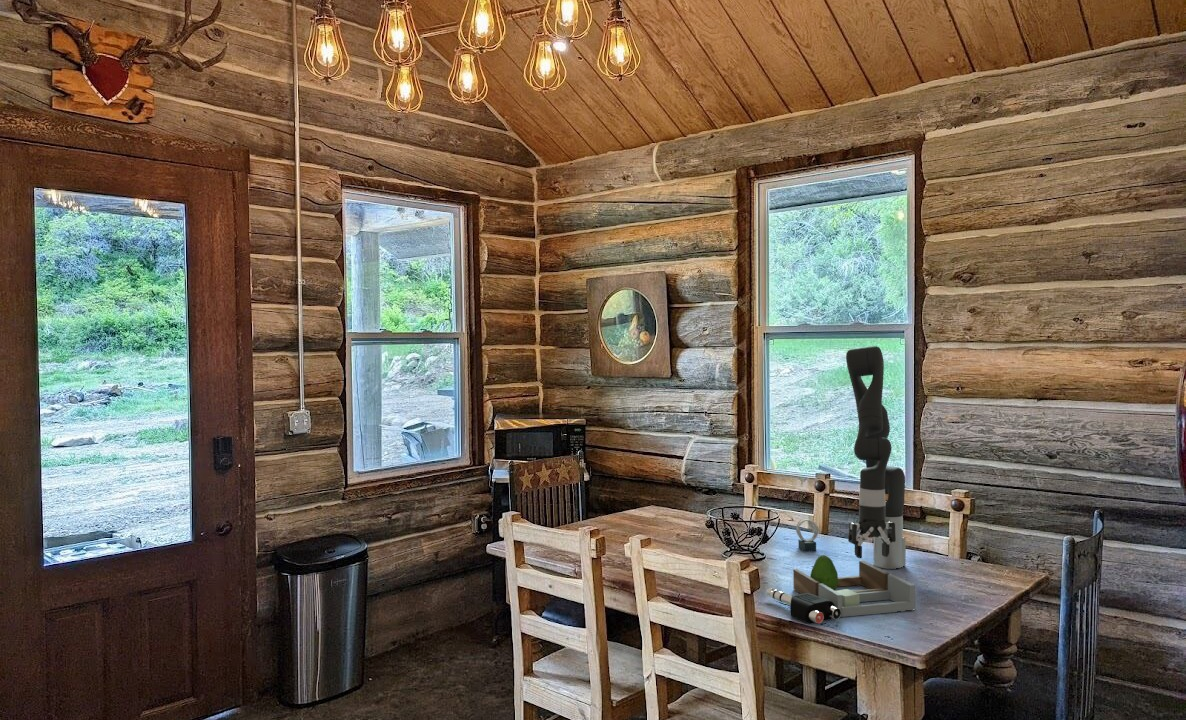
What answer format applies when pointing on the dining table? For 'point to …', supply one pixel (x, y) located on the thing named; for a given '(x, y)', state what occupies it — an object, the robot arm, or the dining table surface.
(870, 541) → the dining table surface
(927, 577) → the dining table surface
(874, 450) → the robot arm
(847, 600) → the sage block
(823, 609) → the audio adapter
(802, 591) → the frame
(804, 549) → the silver ring on block
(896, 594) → the grey open rectangular frame
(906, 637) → the dining table surface
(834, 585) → the avocado
